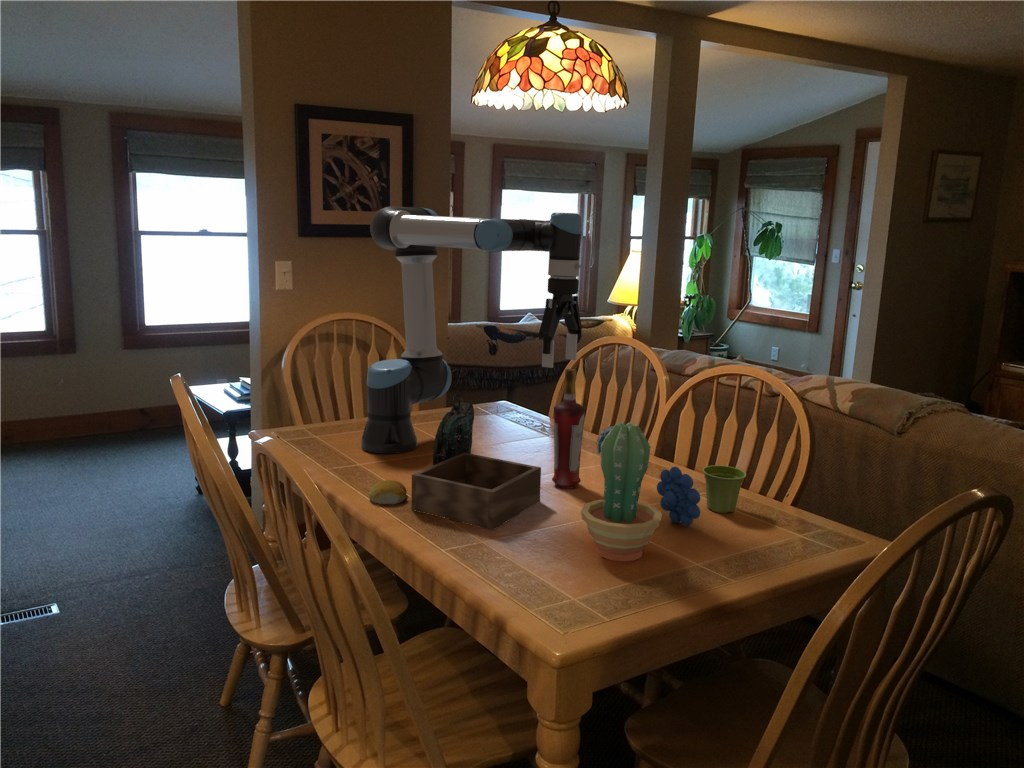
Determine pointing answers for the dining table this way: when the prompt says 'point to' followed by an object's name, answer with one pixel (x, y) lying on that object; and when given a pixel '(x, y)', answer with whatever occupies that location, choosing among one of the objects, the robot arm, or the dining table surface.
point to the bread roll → (388, 492)
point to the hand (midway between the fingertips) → (559, 363)
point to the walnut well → (476, 489)
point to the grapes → (678, 496)
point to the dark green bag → (454, 432)
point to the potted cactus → (622, 496)
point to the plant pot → (722, 487)
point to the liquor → (568, 435)
